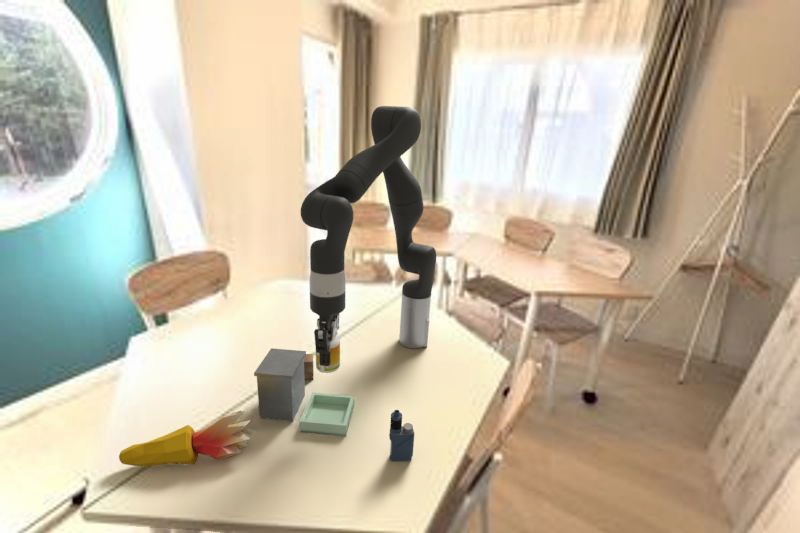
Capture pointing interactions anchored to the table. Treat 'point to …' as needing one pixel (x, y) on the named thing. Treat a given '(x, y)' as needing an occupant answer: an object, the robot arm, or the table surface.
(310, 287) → the robot arm
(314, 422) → the tray
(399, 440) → the vaping device
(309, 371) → the walnut block
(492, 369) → the table surface
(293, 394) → the box
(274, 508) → the table surface
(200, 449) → the torch
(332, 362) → the supplement bottle
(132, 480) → the table surface
